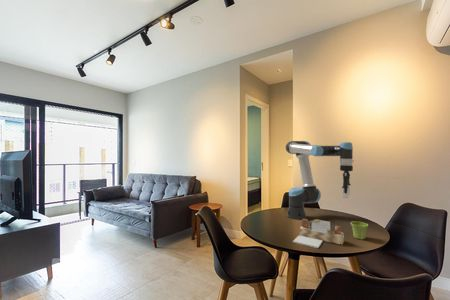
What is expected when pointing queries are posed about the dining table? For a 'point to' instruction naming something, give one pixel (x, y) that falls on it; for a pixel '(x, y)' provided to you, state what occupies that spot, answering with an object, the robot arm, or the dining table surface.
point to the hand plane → (330, 237)
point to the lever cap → (321, 226)
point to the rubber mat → (308, 241)
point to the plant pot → (359, 229)
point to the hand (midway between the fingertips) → (346, 196)
